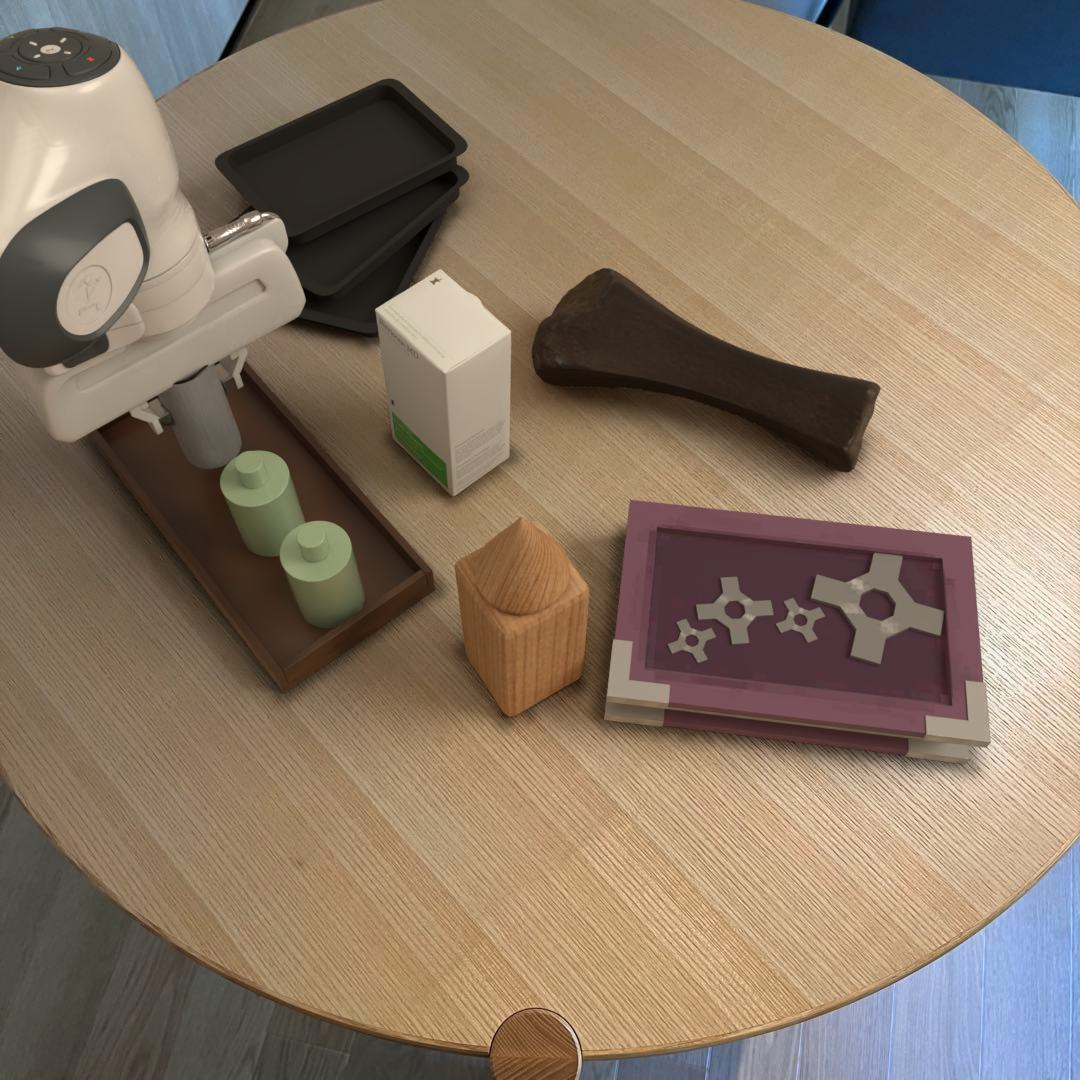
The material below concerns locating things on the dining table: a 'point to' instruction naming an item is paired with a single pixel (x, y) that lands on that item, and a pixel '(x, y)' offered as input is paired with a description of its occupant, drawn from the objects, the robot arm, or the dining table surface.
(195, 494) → the walnut tray
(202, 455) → the planter
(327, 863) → the dining table surface
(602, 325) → the dark brown bone
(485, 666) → the decorative item
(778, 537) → the book
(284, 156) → the tray
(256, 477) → the bottles
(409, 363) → the cosmetic box
